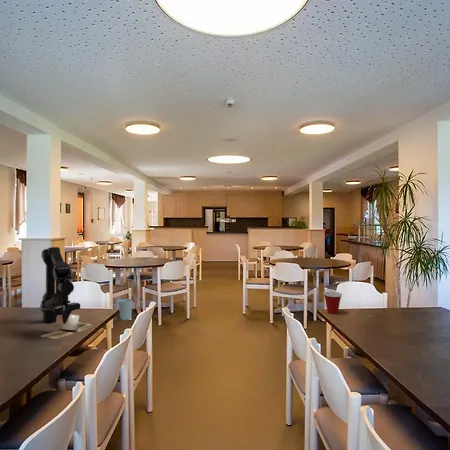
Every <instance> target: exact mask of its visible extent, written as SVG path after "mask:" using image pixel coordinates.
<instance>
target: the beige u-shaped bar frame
mask: <svg viewBox="0 0 450 450" xmlns="http://www.w3.org/2000/svg"><path fill="white" fill-rule="evenodd" d="M92 327H93V325H92V324H91V323H85V322H84V323H83V322H80V321H78V325H77V330H76V333H80V332H83V331H84V330H85V331H86V330H88V329H91V328H92ZM64 330H65V329H62V331H64Z"/></svg>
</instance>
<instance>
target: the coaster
mask: <svg viewBox="0 0 450 450" xmlns="http://www.w3.org/2000/svg"><path fill="white" fill-rule="evenodd" d="M73 334H74V332H72V331H64V330H54V331H51V332H47V333H45V334H42V335H40V337H42V338H45V339H51V340H52V339H53V340H58V339H61V338H65V337H66V336H70V335H73Z"/></svg>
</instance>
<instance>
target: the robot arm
mask: <svg viewBox="0 0 450 450" xmlns="http://www.w3.org/2000/svg"><path fill="white" fill-rule="evenodd" d="M40 257H41V259H42V261H43V263H44V265H45V293H44V294H43V295H42V297H41V299H42V300H41V302H40V305H39V311H40V312H41V313H42V320H41V321H40V322H41V323H45V324H51V323H54V322H55V323H56V320H57V315H63V323H64V324H65V323H66V322H67V319H68V317H69V315H70V314H72V312H73V311H76V310H80V309H81V304H80V302H71V300H69V296H70V295H71V293H73V292H74V290H75V286H74V283H72V282H71V281H70V280H74V274H73V270H72V268H71V266H70V265H69V263H67V262H65V260H64V258H63V256H62V253H61V249H60V247H58V246H51V247H47V248H45V249H43V250H42V251H41V256H40Z"/></svg>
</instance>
